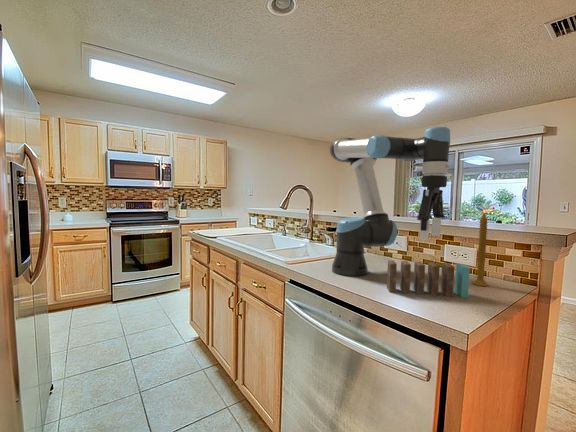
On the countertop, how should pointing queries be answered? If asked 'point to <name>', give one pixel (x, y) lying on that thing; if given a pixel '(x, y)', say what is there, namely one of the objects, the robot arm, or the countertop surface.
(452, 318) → the countertop surface
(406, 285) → the domino
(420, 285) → the domino
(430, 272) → the domino
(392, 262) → the domino
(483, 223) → the candlestick
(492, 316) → the countertop surface
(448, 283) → the domino
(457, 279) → the domino
